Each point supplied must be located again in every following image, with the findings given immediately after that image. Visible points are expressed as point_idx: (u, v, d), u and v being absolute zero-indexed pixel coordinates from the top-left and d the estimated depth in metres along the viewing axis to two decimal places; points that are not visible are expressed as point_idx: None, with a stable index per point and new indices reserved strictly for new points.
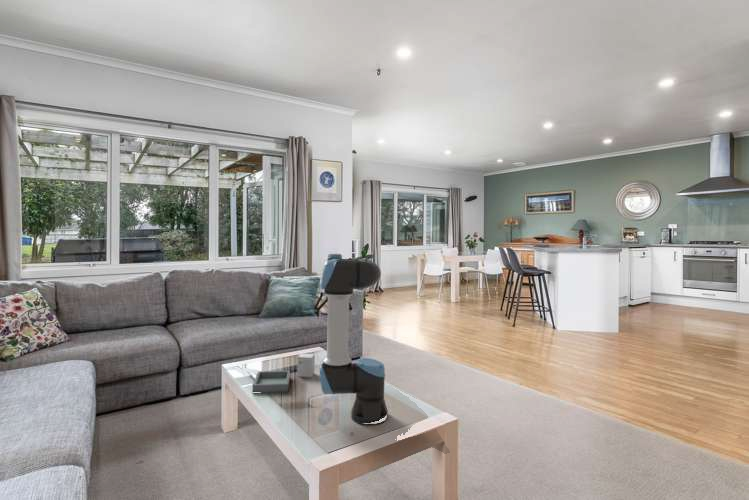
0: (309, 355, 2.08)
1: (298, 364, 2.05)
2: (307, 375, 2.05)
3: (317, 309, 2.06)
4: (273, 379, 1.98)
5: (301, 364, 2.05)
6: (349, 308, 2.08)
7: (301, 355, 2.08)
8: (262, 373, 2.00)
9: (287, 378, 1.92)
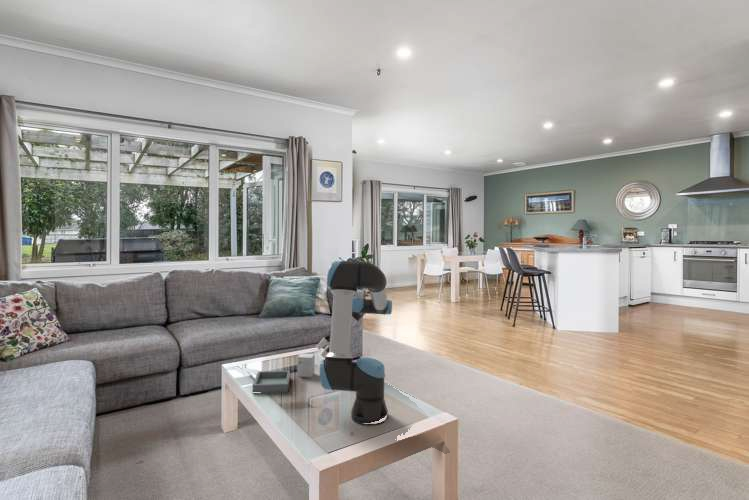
0: (309, 355, 2.08)
1: (298, 364, 2.05)
2: (307, 375, 2.05)
3: None
4: (273, 379, 1.98)
5: (301, 364, 2.05)
6: None
7: (301, 355, 2.08)
8: (262, 373, 2.00)
9: (287, 378, 1.92)
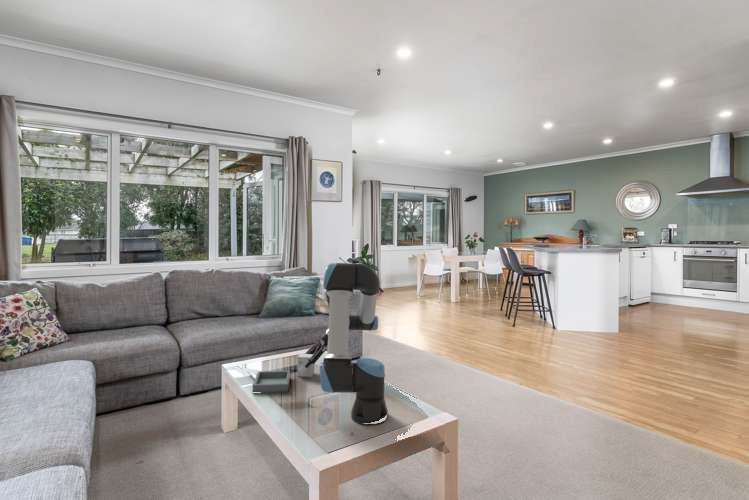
0: (309, 355, 2.08)
1: (298, 364, 2.05)
2: (307, 375, 2.05)
3: (306, 353, 2.13)
4: (273, 379, 1.98)
5: (301, 364, 2.05)
6: None
7: (301, 355, 2.08)
8: (262, 373, 2.00)
9: (287, 378, 1.92)
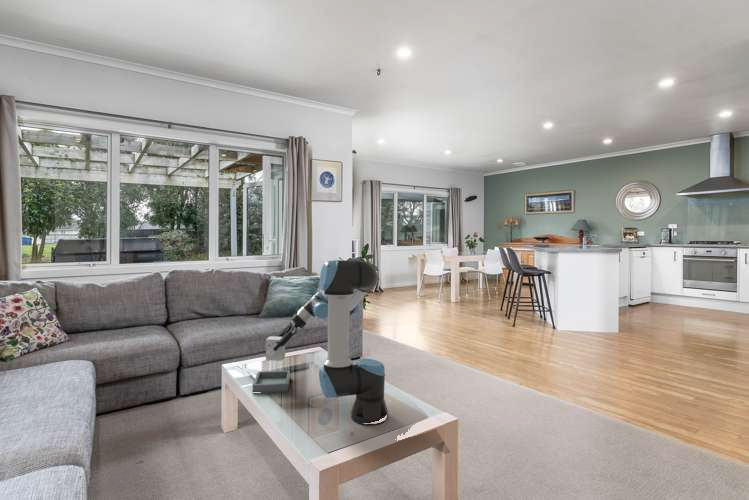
0: (279, 337, 1.94)
1: (267, 347, 1.91)
2: (276, 359, 1.91)
3: None
4: (273, 379, 1.98)
5: (270, 347, 1.91)
6: None
7: (270, 337, 1.94)
8: (262, 373, 2.00)
9: (287, 378, 1.92)
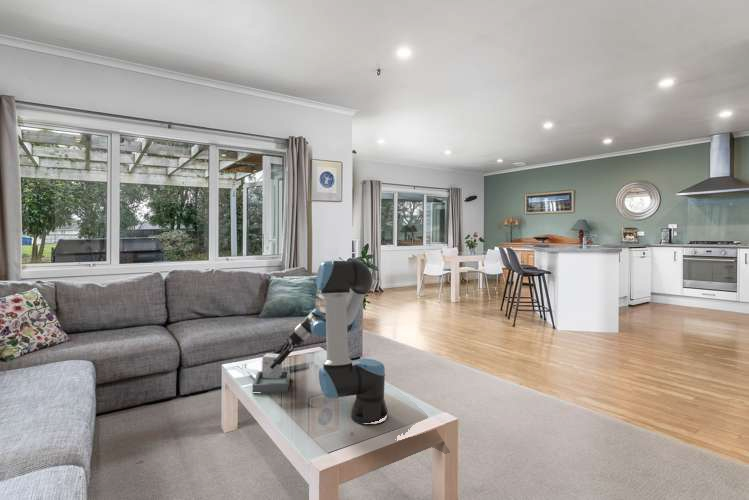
0: (276, 355, 1.93)
1: (263, 364, 1.90)
2: (273, 376, 1.90)
3: (273, 353, 1.98)
4: (273, 379, 1.98)
5: (267, 365, 1.90)
6: None
7: (267, 355, 1.93)
8: (262, 373, 2.00)
9: (287, 378, 1.92)
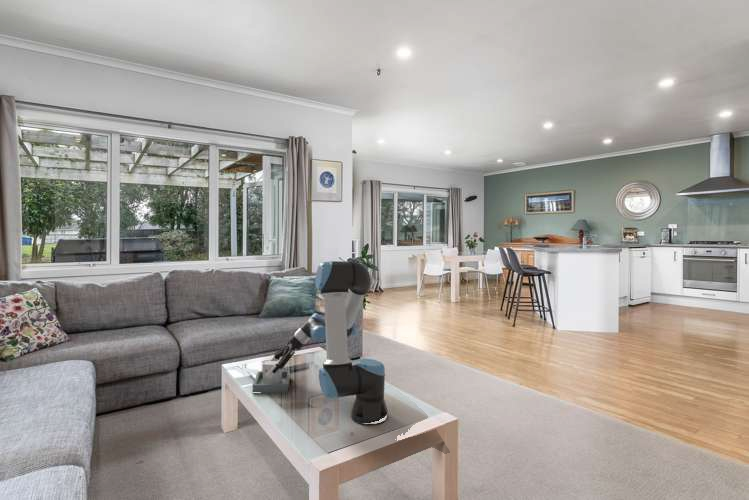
0: (276, 362, 1.93)
1: (263, 372, 1.90)
2: None
3: None
4: None
5: (267, 372, 1.90)
6: None
7: (267, 362, 1.92)
8: (262, 373, 2.00)
9: (287, 378, 1.92)
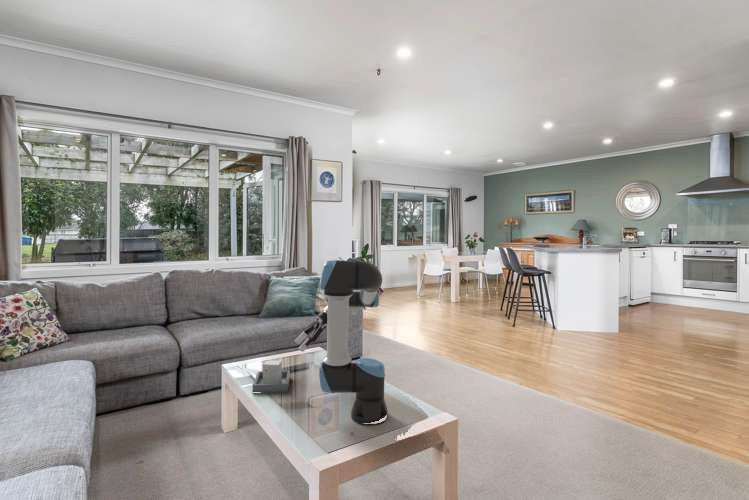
0: (276, 362, 1.93)
1: (263, 372, 1.90)
2: None
3: (304, 329, 2.06)
4: None
5: (267, 372, 1.90)
6: None
7: (267, 362, 1.92)
8: (262, 373, 2.00)
9: (287, 378, 1.92)
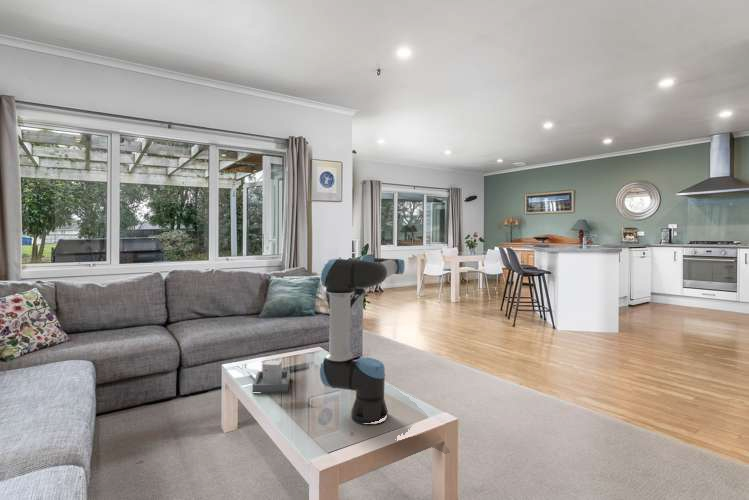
0: (276, 362, 1.93)
1: (263, 372, 1.90)
2: None
3: None
4: None
5: (267, 372, 1.90)
6: None
7: (267, 362, 1.92)
8: (262, 373, 2.00)
9: (287, 378, 1.92)
